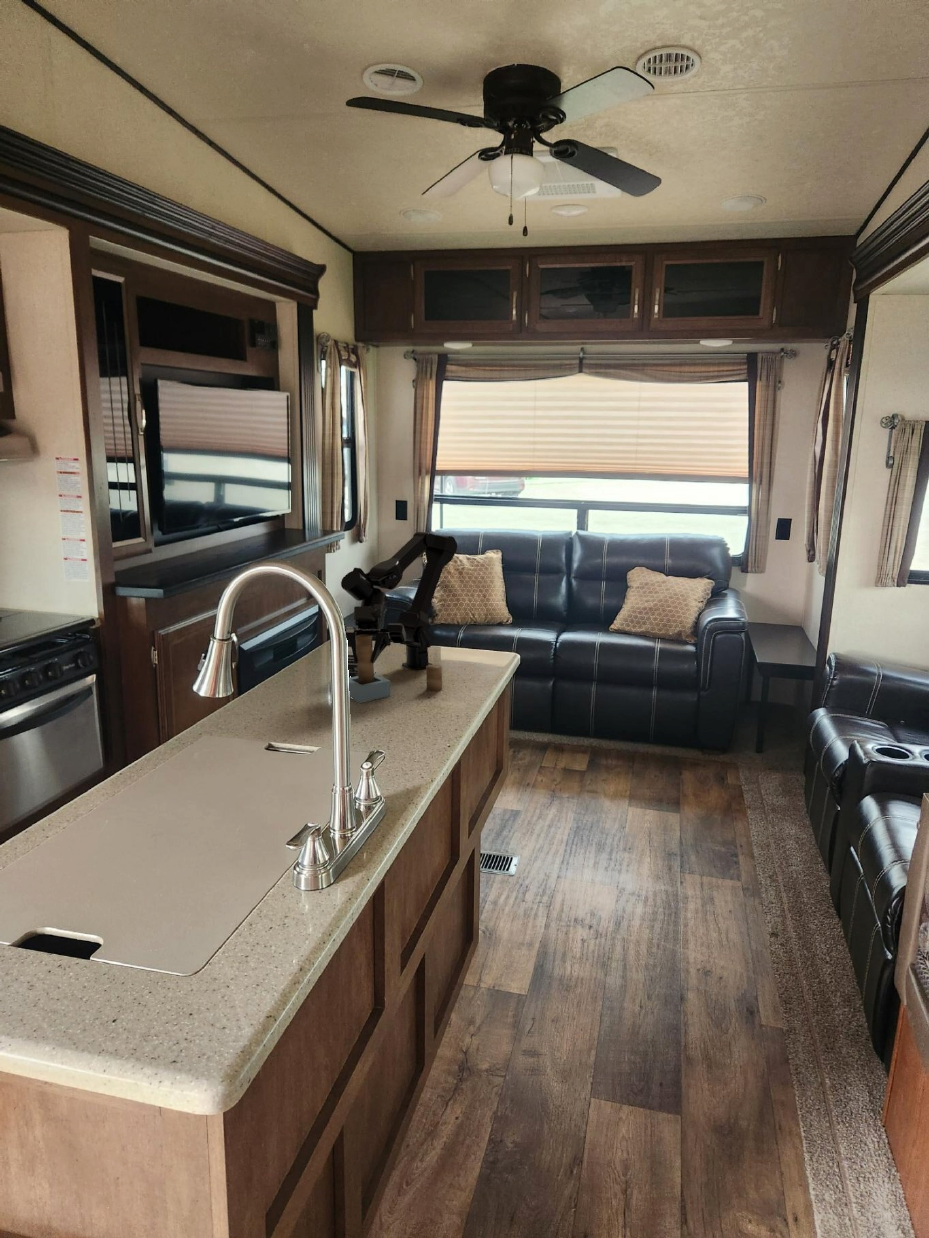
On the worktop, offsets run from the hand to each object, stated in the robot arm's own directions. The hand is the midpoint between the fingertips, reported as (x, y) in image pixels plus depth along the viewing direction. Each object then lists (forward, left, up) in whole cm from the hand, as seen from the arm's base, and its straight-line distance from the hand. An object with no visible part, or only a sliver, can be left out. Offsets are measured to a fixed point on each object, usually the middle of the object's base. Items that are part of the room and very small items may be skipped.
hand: (364, 662), depth 207 cm
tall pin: (-1, +1, -7) cm, 7 cm away
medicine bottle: (-17, +8, -9) cm, 21 cm away
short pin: (+6, +17, -9) cm, 20 cm away
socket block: (-1, +1, -9) cm, 9 cm away
